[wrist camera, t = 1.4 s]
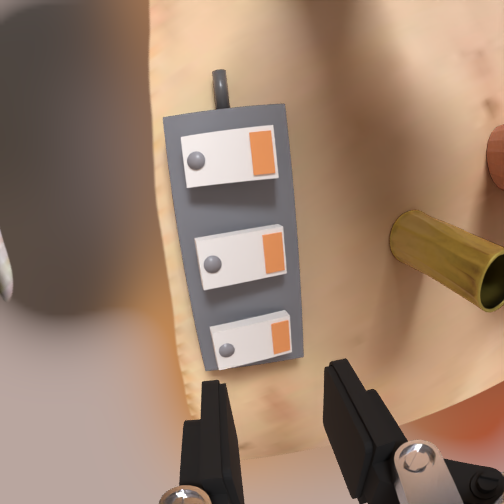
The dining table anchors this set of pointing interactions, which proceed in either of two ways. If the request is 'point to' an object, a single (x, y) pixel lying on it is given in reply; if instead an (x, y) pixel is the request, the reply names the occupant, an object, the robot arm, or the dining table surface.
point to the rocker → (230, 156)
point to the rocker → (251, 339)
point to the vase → (451, 257)
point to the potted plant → (496, 156)
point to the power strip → (236, 222)
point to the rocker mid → (241, 256)
